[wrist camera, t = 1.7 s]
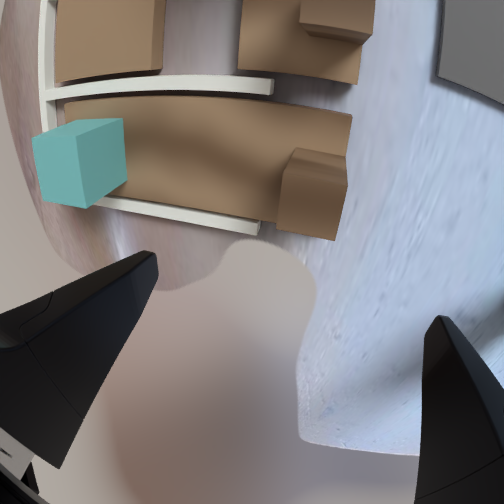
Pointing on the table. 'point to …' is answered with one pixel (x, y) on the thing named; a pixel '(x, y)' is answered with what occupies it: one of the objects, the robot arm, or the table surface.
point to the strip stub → (305, 37)
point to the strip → (232, 156)
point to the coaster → (473, 46)
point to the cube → (80, 161)
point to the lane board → (124, 60)
